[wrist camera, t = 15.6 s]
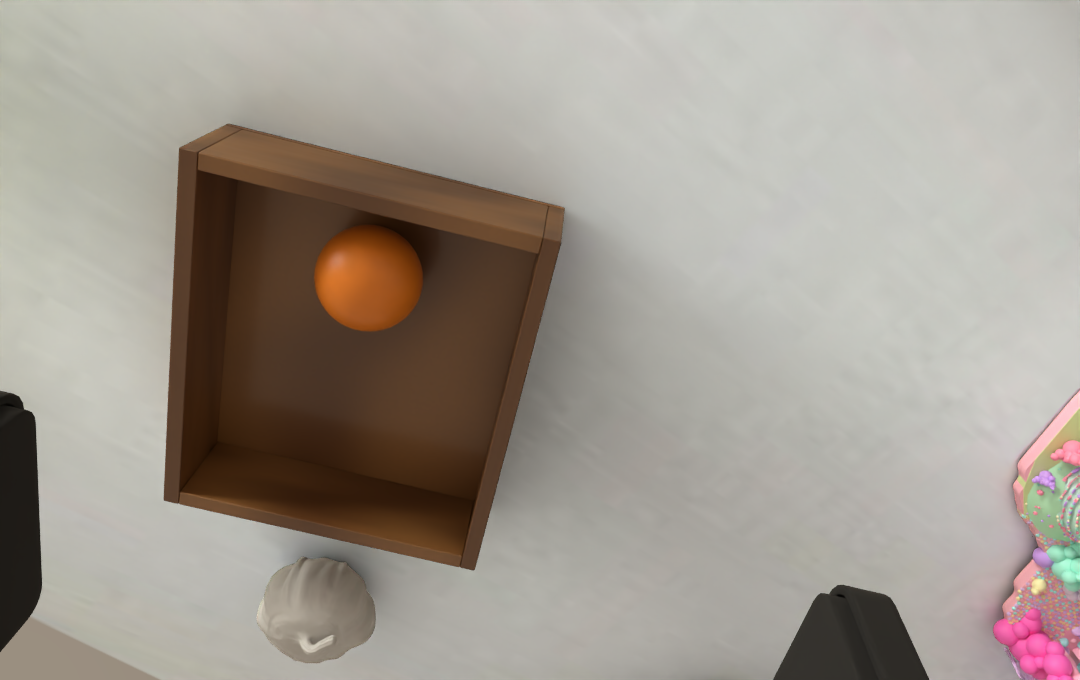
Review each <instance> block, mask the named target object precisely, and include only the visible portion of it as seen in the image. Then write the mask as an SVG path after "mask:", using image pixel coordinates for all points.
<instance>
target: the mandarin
mask: <svg viewBox="0 0 1080 680" xmlns="http://www.w3.org/2000/svg"><path fill="white" fill-rule="evenodd" d="M314 282H315V289H316V293H317V296H318V298H319V300H320V302H321V304H322V306H323V307H324V309H325V310H326V311H327V313H328V314H329V315H330V316H331V317H332V318H334V319H335V320H336V321H337V322H339V323H341V324H342V325H344V326H346V327H349V328H351V329H354V330H359V331H369V332H371V331H380V330H384V329H387V328H390V327H392V326H394V325H396V324H398V323H399V322H401V321H402V320H404V319H405V318H406V317H407V316H408V315H409V314H410V313H411V312H412V310H413V309H414V307H415V306H416V304H417V302H418V300H419V298H420V295H421V291H422V286H423V272H422V266H421V263H420V260H419V258H418V256H417V253H416V252H415V250H414V249H413V247H412V246H411V245H410V243H409V242H408V241H407V240H406V239H405V238H403V237H402V236H401V235H399V234H398V233H396V232H395V231H393V230H390V229H388V228H385V227H382V226H377V225H358V226H354V227H351V228H348V229H345V230H343V231H341V232H339V233H338V234H337V235H335V236H334V237H333V238H331V239H330V240H329V241H328V242H327V244H326V245H325V246H324V248H323V249H322V251H321V252H320V254H319V256H318V259H317V262H316V266H315V271H314Z"/></svg>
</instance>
